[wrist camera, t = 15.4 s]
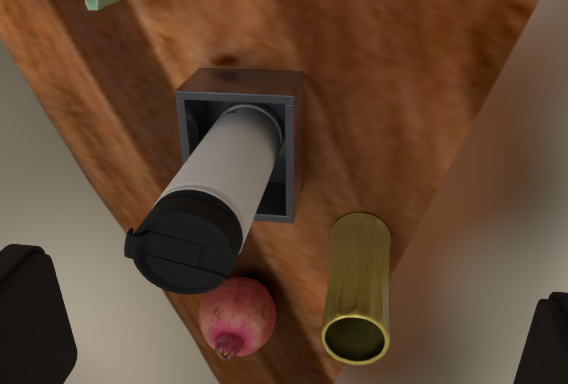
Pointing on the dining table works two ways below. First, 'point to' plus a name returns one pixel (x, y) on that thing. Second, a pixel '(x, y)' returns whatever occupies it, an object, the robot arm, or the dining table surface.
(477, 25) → the dining table surface
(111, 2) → the rack
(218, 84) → the dark grey storage box
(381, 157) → the dining table surface
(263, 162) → the travel mug
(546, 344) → the robot arm
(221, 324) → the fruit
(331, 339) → the vase
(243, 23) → the dining table surface
